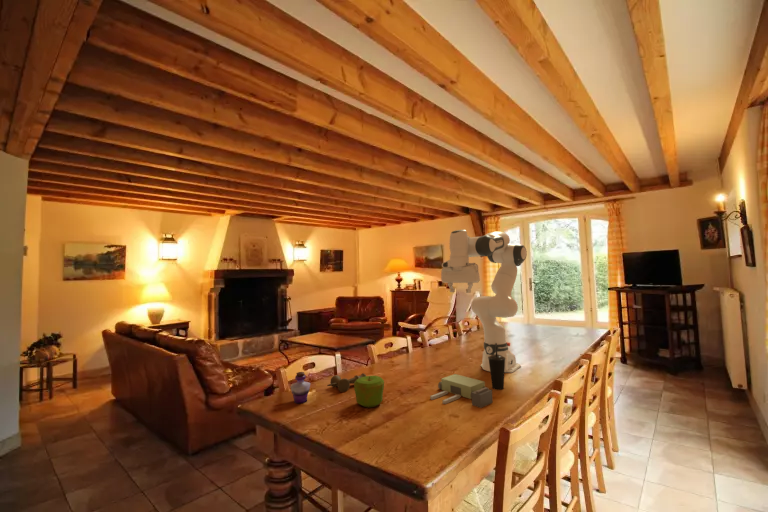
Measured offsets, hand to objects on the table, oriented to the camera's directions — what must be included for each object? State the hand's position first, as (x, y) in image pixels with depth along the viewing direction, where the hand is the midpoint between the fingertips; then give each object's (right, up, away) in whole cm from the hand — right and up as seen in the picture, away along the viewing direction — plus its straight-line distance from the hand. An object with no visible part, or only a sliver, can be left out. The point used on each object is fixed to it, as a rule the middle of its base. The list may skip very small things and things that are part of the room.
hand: (460, 292), depth 164 cm
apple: (-42, -43, -24) cm, 65 cm away
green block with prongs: (-6, -43, -15) cm, 46 cm away
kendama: (-54, -45, -2) cm, 70 cm away
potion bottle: (-71, -44, -18) cm, 86 cm away
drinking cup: (+15, -43, -8) cm, 46 cm away
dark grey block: (+3, -42, -26) cm, 49 cm away
